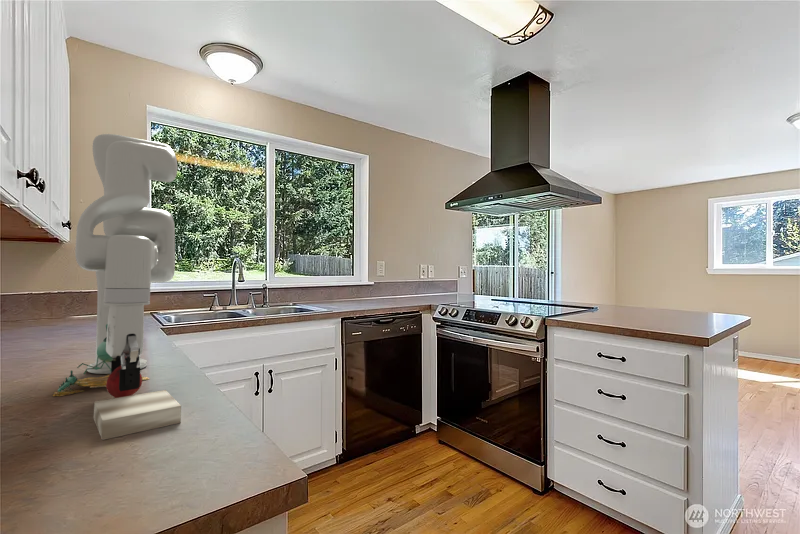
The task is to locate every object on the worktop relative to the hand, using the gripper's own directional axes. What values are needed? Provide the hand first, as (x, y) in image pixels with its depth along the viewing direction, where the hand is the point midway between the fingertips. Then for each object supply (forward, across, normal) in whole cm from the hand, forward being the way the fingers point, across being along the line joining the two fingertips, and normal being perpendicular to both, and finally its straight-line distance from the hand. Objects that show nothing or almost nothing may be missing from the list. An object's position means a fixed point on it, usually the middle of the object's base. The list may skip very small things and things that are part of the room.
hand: (124, 384), depth 78 cm
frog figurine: (+4, -15, -2) cm, 15 cm away
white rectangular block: (+4, +12, 0) cm, 13 cm away
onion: (+4, -1, 0) cm, 4 cm away
